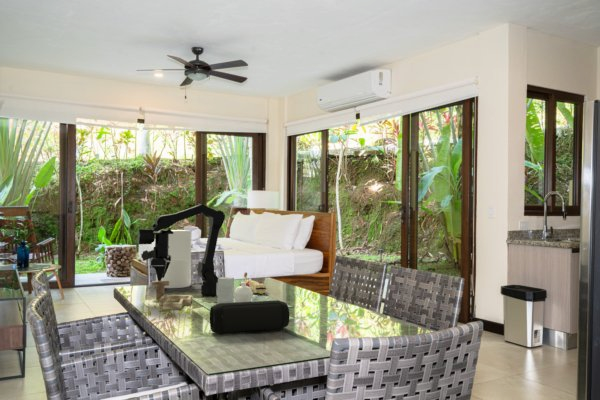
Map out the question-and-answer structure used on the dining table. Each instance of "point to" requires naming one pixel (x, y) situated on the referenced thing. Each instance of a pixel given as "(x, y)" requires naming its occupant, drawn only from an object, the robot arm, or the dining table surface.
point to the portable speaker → (249, 317)
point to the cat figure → (255, 285)
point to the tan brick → (160, 287)
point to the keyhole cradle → (181, 298)
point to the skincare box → (225, 290)
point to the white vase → (243, 293)
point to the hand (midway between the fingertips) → (161, 279)
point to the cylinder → (179, 259)
